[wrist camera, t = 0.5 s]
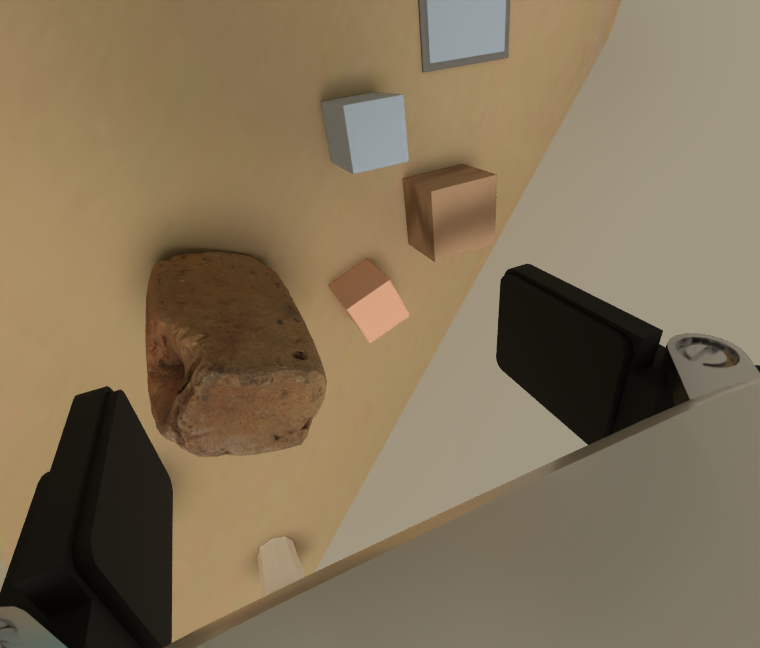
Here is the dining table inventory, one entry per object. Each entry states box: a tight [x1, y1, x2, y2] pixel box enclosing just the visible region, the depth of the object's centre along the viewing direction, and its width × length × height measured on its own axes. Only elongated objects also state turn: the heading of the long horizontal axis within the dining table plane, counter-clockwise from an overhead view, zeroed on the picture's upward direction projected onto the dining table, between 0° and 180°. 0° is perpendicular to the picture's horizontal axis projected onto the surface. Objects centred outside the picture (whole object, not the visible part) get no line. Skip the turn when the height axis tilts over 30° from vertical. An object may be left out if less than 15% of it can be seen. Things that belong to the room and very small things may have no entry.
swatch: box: [418, 0, 510, 72], centre depth 37 cm, size 9×9×1 cm
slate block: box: [321, 92, 409, 174], centre depth 36 cm, size 5×5×6 cm
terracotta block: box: [329, 259, 410, 343], centre depth 44 cm, size 5×5×6 cm
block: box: [146, 251, 327, 457], centre depth 32 cm, size 11×8×20 cm
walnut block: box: [403, 164, 497, 262], centre depth 43 cm, size 7×7×6 cm
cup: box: [257, 536, 305, 598], centre depth 57 cm, size 7×7×11 cm
